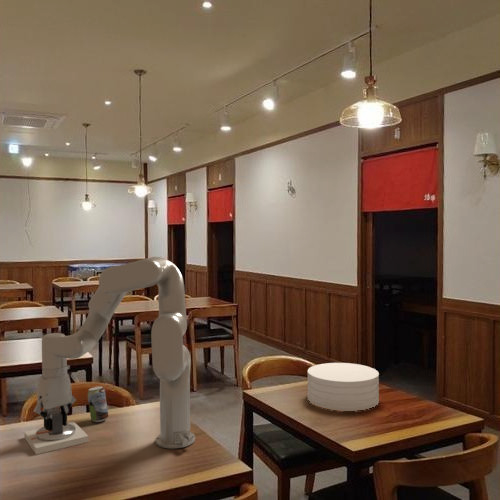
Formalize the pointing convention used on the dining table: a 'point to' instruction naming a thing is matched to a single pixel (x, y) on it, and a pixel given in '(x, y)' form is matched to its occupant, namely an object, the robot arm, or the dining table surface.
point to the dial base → (47, 446)
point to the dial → (56, 428)
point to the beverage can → (97, 404)
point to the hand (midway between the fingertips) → (55, 426)
